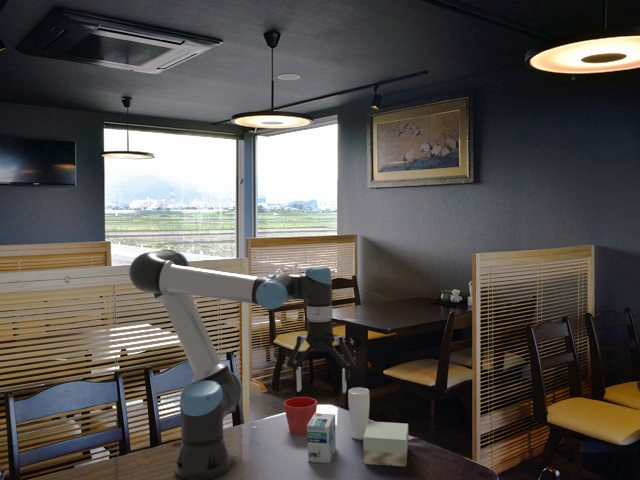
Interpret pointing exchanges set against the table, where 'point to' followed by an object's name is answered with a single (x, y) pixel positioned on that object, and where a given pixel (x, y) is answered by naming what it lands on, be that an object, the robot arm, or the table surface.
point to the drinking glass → (358, 411)
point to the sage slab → (386, 437)
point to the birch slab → (385, 458)
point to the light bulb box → (321, 438)
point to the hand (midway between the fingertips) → (321, 390)
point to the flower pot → (299, 413)
